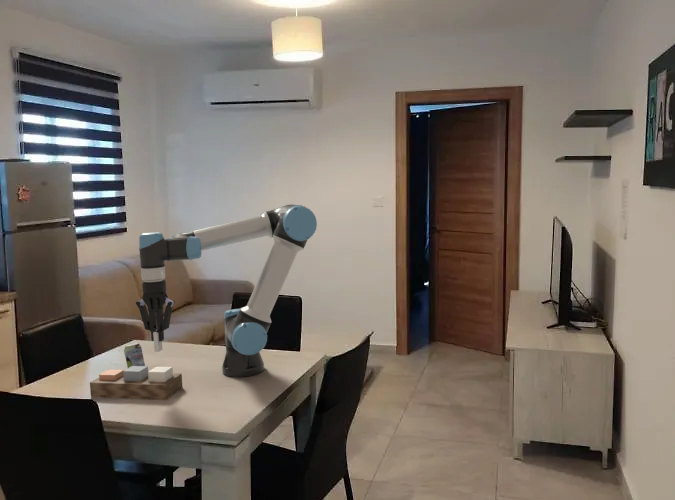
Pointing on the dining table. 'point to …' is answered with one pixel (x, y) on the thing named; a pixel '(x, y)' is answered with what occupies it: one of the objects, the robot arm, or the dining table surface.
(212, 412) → the dining table surface
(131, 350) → the beverage can
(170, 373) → the offwhite key
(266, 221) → the robot arm
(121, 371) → the terracotta key
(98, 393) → the console
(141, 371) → the slate key
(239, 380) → the dining table surface
